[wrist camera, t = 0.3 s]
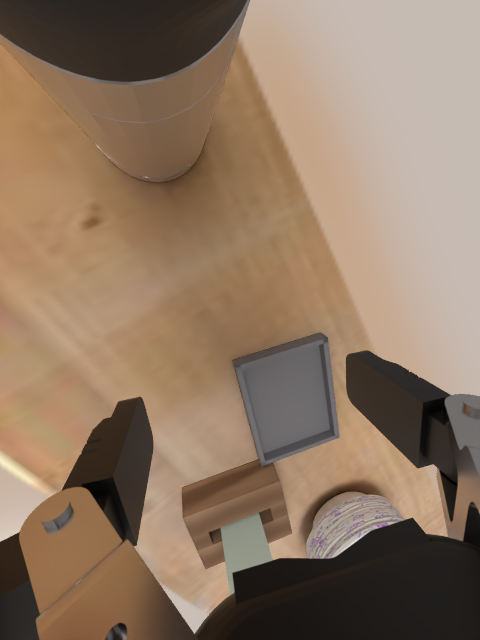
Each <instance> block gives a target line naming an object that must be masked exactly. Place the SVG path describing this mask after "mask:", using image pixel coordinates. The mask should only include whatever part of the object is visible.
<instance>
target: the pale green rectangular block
mask: <svg viewBox="0 0 480 640" xmlns="http://www.w3.org/2000/svg"><path fill="white" fill-rule="evenodd" d="M221 535H222V542H223V549H224V556H225V562H226V569H227V576H228V583H229V590H230V595H232V594H233V593H234V592H235V591H234V584H233V576H232V573H234V572H237V571H240V570H243V569H247V568H250V567H253V566H256V565H260V564H263V563H266V562H269V561H273V560H272V556H271V553H270V549H269V546H268V543H267V539H266V536H265V532H264V529H263V525H262V522H261V518H260V515H259V513H256V514H254V515H251V516H249V517H246V518H244V519H241V520H239V521H236V522H234V523H231V524H229V525H226V526H224V527H221Z"/></svg>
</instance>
